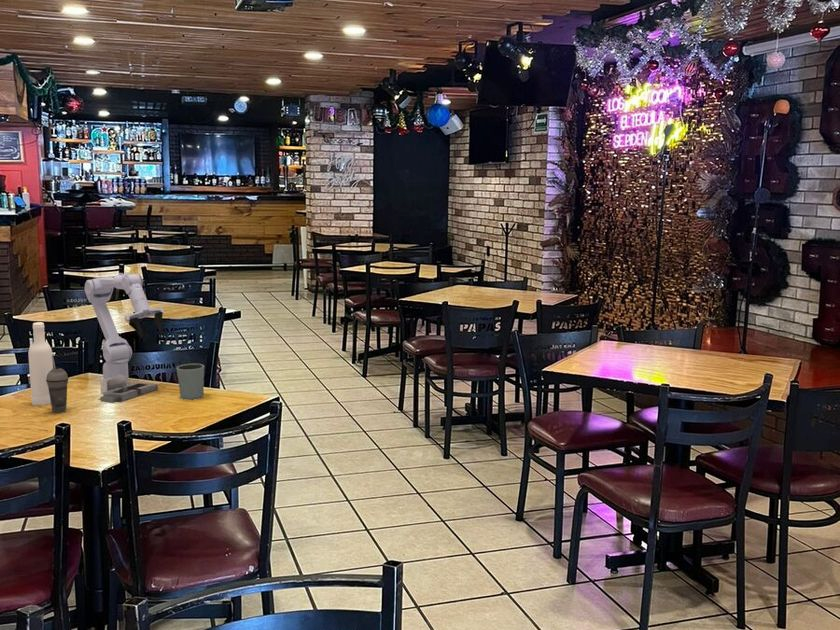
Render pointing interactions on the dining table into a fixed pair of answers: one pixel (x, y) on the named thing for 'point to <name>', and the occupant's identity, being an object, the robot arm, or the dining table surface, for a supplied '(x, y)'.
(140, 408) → the dining table surface
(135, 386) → the chain end
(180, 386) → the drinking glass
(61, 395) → the beverage cup
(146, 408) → the dining table surface
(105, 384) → the master link
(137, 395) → the mat
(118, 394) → the chain end
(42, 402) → the bottle
